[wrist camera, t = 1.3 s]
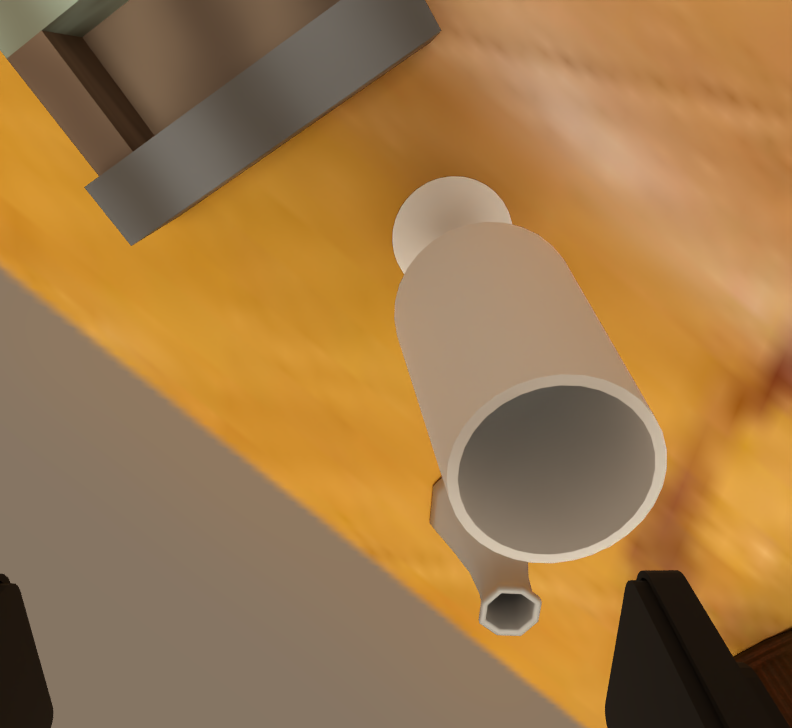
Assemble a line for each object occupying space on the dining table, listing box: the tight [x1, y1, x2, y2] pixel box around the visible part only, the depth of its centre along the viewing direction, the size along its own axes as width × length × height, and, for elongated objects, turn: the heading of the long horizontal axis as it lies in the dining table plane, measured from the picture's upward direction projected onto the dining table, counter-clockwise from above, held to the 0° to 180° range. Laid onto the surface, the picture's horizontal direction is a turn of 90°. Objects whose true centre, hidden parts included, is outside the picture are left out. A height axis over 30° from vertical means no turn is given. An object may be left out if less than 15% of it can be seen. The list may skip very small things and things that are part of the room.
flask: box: [430, 478, 542, 636], centre depth 38 cm, size 7×7×10 cm
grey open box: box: [0, 0, 441, 246], centre depth 29 cm, size 16×12×7 cm
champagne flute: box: [392, 176, 667, 563], centre depth 25 cm, size 7×7×24 cm
